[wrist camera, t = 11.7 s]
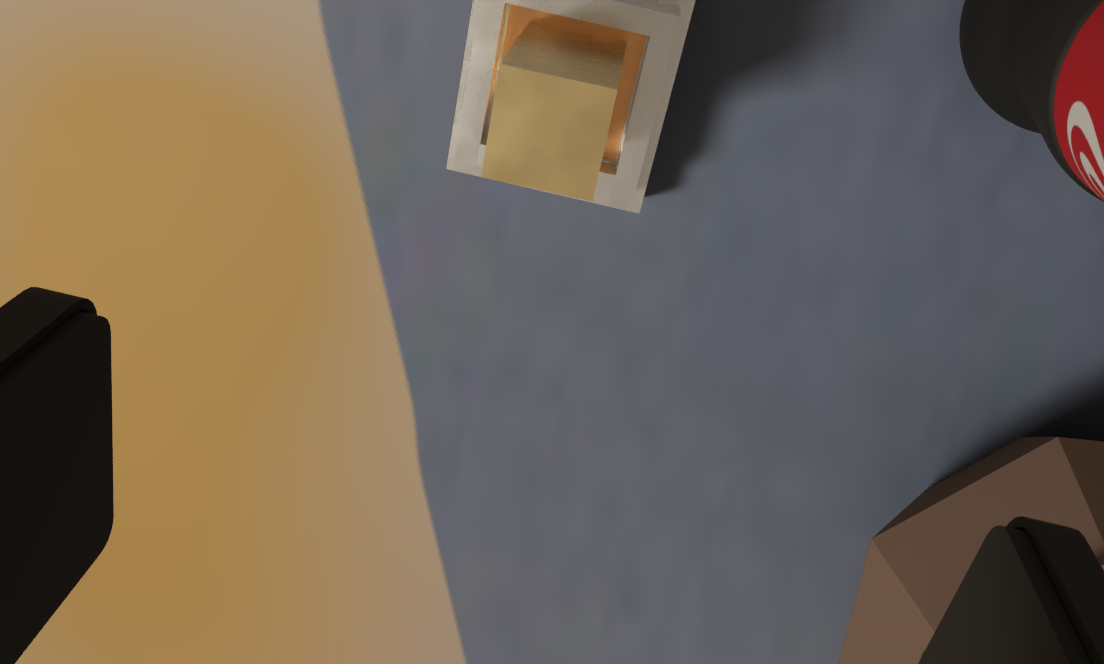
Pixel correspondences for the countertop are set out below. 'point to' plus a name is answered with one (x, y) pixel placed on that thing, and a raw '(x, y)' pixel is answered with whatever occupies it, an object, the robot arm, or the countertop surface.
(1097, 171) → the cola bottle
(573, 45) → the square wooden post
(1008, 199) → the countertop surface
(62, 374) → the robot arm
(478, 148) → the white boxy piece
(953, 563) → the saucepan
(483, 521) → the countertop surface
